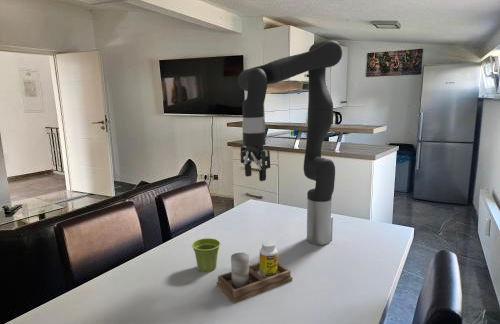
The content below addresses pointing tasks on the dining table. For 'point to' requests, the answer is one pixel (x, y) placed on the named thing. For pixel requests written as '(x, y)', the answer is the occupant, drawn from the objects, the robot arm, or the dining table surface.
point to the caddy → (249, 279)
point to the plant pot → (206, 253)
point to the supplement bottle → (268, 259)
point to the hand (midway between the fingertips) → (255, 178)
